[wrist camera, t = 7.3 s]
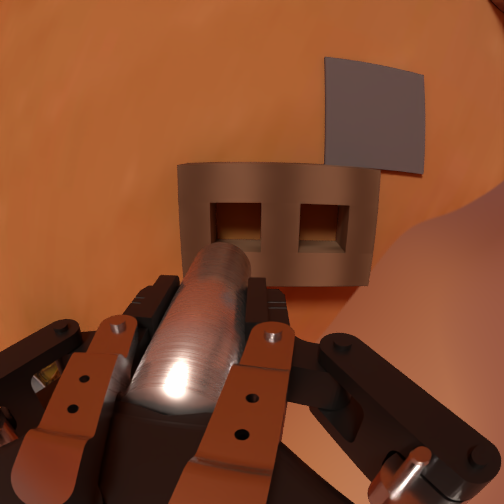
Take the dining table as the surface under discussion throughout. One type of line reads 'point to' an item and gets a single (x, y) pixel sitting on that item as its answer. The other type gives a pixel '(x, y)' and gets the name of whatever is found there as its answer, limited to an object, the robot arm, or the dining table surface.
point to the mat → (374, 116)
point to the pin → (196, 336)
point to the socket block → (284, 218)
